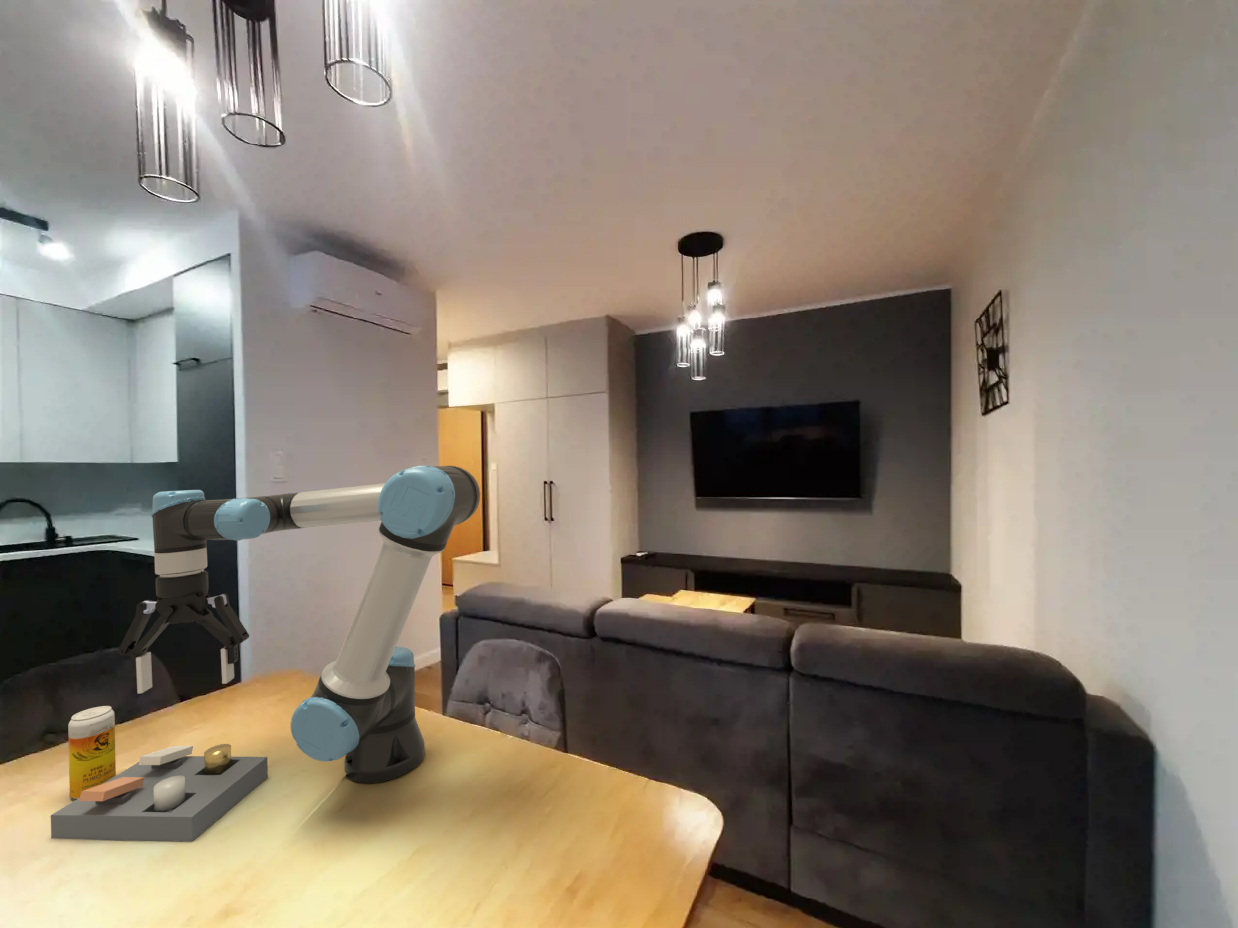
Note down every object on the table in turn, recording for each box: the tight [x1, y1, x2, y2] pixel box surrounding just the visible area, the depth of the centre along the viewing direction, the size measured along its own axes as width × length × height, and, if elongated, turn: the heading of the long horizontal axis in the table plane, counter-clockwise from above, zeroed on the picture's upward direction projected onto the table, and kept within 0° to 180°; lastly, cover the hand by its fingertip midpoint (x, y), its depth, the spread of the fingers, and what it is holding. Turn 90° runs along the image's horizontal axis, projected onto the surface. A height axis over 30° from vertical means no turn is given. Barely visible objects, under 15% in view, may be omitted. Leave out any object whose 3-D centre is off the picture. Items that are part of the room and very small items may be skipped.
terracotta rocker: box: [79, 777, 144, 801], centre depth 88 cm, size 4×7×1 cm, turn 178°
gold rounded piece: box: [203, 743, 232, 775], centre depth 97 cm, size 4×4×4 cm
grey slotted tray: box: [50, 755, 269, 842], centre depth 93 cm, size 24×17×5 cm
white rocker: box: [138, 745, 194, 765], centre depth 98 cm, size 4×7×1 cm, turn 178°
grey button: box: [154, 776, 185, 811], centre depth 87 cm, size 4×4×4 cm
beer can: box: [67, 705, 117, 800], centre depth 97 cm, size 6×6×15 cm
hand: (187, 685), depth 97 cm, fingers open, 13 cm apart
